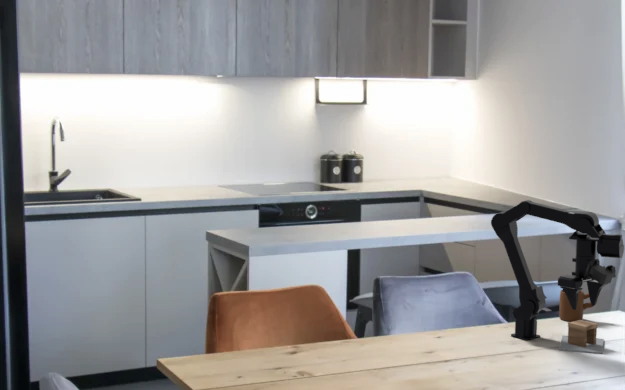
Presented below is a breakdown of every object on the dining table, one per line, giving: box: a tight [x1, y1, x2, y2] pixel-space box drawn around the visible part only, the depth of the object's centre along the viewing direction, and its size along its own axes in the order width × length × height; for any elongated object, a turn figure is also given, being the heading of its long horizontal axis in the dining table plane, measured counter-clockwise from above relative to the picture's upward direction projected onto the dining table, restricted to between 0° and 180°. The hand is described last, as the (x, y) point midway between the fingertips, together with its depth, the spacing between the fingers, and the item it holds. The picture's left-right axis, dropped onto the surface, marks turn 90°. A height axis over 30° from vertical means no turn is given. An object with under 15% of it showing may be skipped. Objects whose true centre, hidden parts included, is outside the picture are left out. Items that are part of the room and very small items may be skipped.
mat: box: [558, 334, 605, 355], centre depth 274 cm, size 16×12×1 cm
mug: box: [558, 289, 598, 322], centre depth 305 cm, size 12×8×9 cm, turn 83°
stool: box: [567, 319, 598, 347], centre depth 273 cm, size 6×6×6 cm
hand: (583, 307), depth 273 cm, fingers open, 9 cm apart
